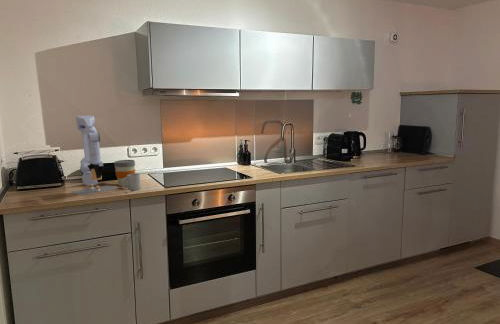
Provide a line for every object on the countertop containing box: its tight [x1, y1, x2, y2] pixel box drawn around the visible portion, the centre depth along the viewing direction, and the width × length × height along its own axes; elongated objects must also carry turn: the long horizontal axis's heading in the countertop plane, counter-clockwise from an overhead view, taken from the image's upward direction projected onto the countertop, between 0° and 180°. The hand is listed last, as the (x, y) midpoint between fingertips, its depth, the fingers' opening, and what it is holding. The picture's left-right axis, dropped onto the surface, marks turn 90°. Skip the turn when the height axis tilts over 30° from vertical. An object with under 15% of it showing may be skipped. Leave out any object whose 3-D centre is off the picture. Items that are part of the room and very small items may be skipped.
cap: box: [91, 169, 103, 181], centre depth 209 cm, size 5×5×6 cm
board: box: [71, 184, 119, 197], centre depth 213 cm, size 14×22×4 cm, turn 137°
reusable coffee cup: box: [114, 159, 136, 187], centre depth 233 cm, size 13×13×15 cm
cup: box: [122, 173, 142, 192], centre depth 219 cm, size 7×10×9 cm
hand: (96, 177), depth 209 cm, fingers closed on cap, 5 cm apart
